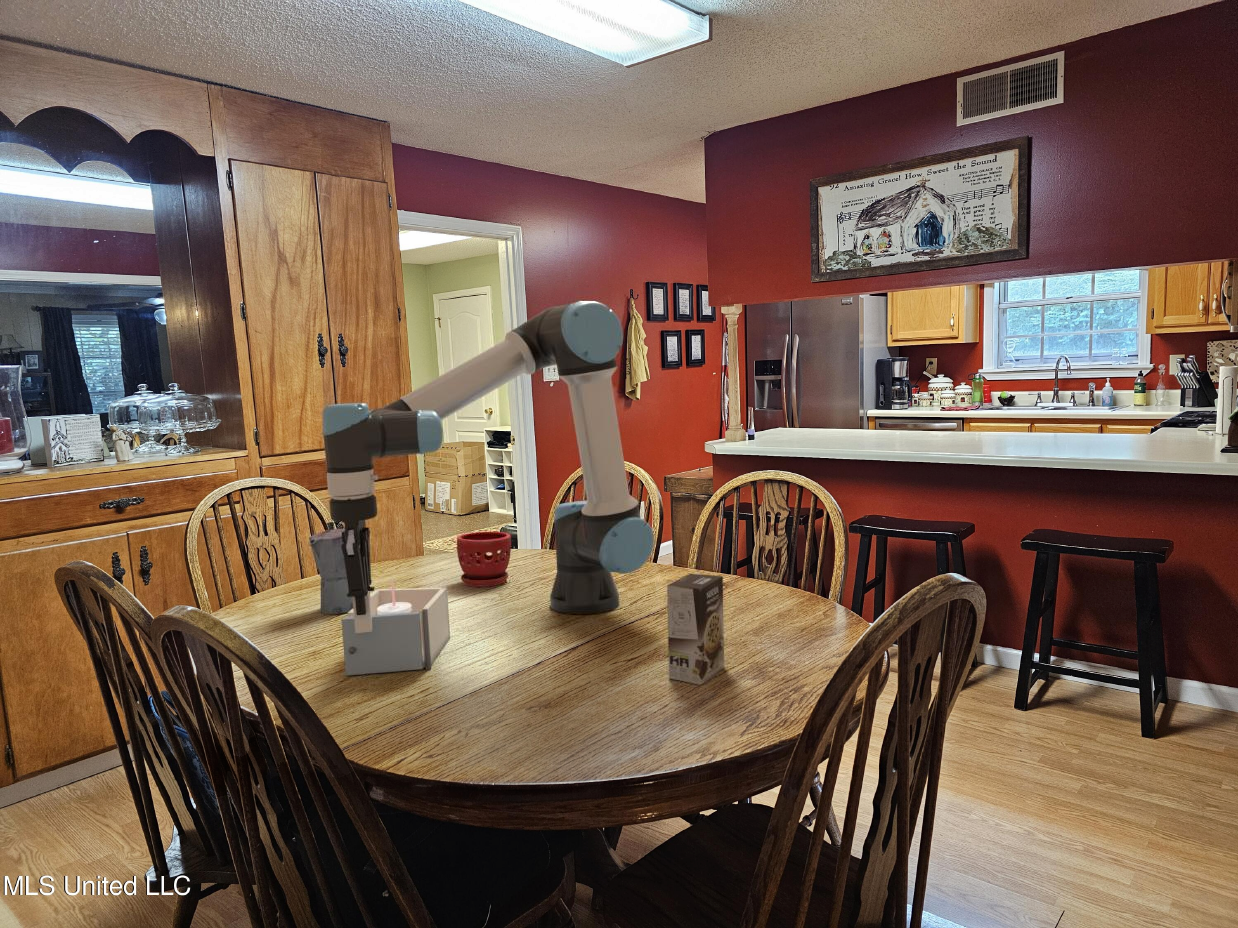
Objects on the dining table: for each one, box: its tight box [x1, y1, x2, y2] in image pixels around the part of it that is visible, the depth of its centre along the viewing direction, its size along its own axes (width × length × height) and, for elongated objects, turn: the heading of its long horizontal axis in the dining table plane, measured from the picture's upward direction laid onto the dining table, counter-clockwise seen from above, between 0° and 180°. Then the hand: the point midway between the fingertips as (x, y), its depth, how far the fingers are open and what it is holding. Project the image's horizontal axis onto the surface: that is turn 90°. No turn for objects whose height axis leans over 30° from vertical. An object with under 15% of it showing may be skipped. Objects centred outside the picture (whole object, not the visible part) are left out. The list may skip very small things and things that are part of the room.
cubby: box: [347, 587, 451, 671], centre depth 149 cm, size 14×16×11 cm
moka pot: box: [307, 521, 353, 615], centre depth 179 cm, size 10×15×20 cm, turn 158°
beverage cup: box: [377, 579, 412, 615], centre depth 145 cm, size 6×6×14 cm
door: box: [340, 612, 424, 676], centre depth 139 cm, size 13×2×10 cm, turn 98°
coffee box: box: [666, 573, 725, 686], centre depth 134 cm, size 9×6×16 cm
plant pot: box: [456, 531, 512, 588], centre depth 198 cm, size 13×13×12 cm
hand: (364, 630), depth 138 cm, fingers closed
